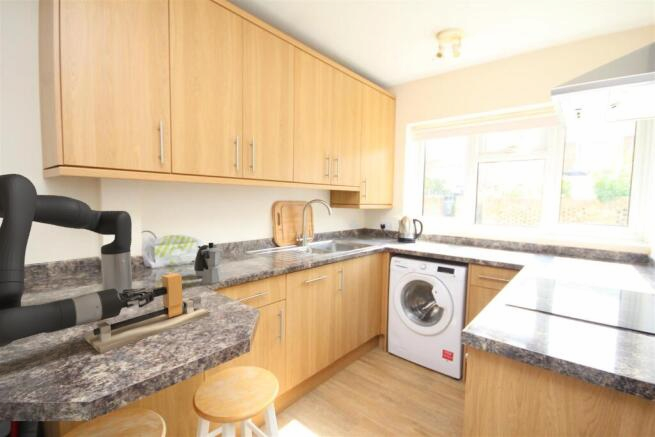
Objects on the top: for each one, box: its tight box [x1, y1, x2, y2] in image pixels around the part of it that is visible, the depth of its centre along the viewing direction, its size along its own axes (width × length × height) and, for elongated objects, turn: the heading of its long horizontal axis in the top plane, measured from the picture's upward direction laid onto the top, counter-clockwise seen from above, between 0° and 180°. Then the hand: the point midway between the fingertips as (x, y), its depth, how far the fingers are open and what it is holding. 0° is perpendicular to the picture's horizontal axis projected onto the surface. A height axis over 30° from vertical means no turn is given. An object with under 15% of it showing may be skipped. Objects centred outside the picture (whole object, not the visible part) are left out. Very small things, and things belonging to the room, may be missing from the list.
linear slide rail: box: [84, 295, 211, 354], centre depth 87 cm, size 12×29×5 cm, turn 143°
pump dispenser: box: [193, 244, 209, 278], centre depth 143 cm, size 10×10×15 cm
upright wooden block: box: [161, 272, 183, 317], centre depth 91 cm, size 4×4×12 cm
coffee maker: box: [201, 242, 223, 285], centre depth 132 cm, size 15×9×18 cm, turn 178°
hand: (165, 290), depth 89 cm, fingers closed
